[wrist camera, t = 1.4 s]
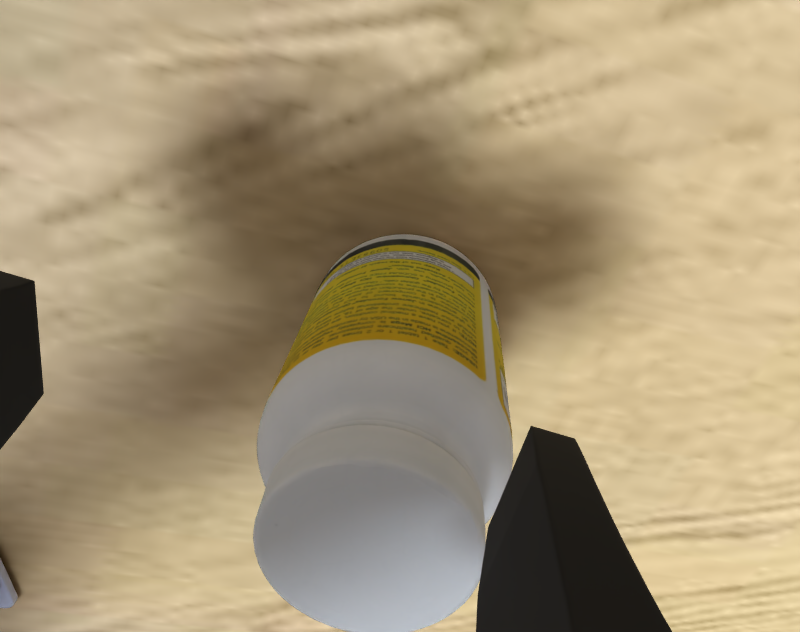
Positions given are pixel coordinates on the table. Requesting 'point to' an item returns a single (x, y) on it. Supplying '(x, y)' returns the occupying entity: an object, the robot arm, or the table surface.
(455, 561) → the pill bottle
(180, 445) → the table surface
